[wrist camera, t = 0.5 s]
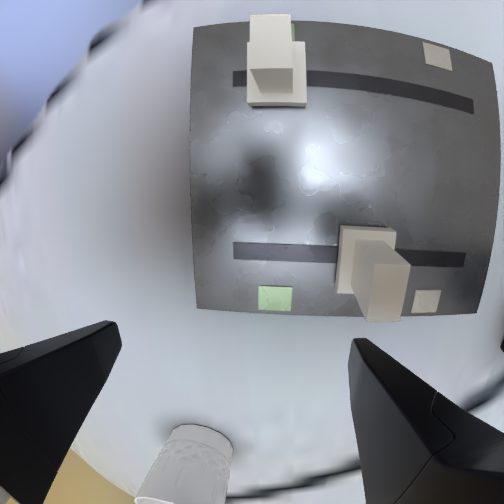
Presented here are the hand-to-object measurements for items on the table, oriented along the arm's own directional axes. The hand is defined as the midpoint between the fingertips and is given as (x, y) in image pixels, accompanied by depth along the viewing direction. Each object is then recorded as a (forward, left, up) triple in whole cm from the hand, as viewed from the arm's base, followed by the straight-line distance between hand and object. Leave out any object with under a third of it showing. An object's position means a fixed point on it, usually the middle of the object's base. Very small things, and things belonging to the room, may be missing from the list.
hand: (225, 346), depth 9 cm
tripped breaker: (-6, 0, -9) cm, 10 cm away
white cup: (+6, +22, -11) cm, 25 cm away
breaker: (-1, -10, -9) cm, 14 cm away
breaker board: (-6, -5, -11) cm, 14 cm away
